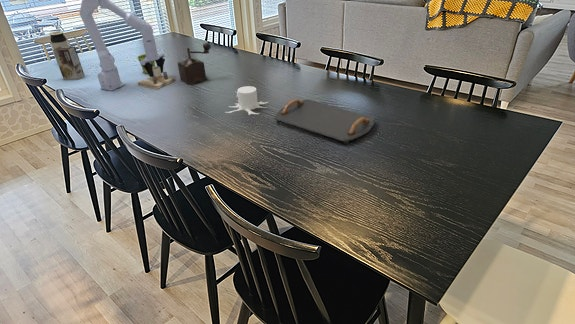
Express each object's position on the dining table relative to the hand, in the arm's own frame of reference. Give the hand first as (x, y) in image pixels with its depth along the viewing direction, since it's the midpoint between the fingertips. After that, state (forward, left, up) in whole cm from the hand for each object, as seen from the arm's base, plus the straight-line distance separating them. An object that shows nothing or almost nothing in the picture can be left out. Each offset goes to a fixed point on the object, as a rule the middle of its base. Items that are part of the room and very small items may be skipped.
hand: (156, 74), depth 197 cm
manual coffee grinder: (+10, -19, -3) cm, 22 cm away
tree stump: (-8, -62, -3) cm, 63 cm away
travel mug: (-1, +74, -3) cm, 74 cm away
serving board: (-9, -99, -4) cm, 99 cm away
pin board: (-4, -3, -3) cm, 5 cm away
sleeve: (0, 0, -1) cm, 1 cm away
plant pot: (+8, +14, -3) cm, 16 cm away
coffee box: (-16, +46, -3) cm, 49 cm away
